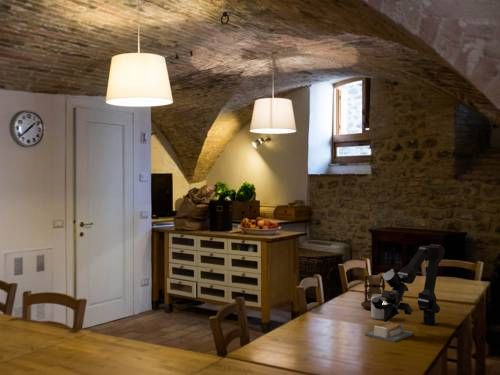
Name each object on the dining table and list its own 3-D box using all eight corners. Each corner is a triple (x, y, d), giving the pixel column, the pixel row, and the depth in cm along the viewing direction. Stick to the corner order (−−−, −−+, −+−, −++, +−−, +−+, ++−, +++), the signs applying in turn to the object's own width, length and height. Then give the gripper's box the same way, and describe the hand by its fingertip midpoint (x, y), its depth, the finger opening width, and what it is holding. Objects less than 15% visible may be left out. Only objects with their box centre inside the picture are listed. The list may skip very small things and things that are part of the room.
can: (386, 320, 276) (386, 296, 276) (371, 319, 278) (371, 296, 278) (385, 316, 284) (385, 293, 283) (371, 315, 285) (370, 293, 285)
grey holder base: (384, 328, 262) (384, 317, 262) (413, 334, 251) (413, 323, 251) (365, 335, 250) (365, 324, 250) (394, 342, 239) (394, 331, 239)
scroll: (387, 305, 308) (387, 270, 308) (389, 312, 293) (389, 275, 293) (360, 304, 310) (360, 270, 310) (361, 311, 296) (361, 274, 296)
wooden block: (390, 322, 256) (377, 328, 248) (399, 324, 252) (387, 330, 244) (390, 325, 256) (377, 330, 248) (399, 327, 252) (387, 332, 244)
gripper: (373, 280, 257) (360, 308, 250) (408, 285, 244) (396, 315, 237) (382, 294, 263) (369, 321, 256) (417, 300, 250) (405, 329, 242)
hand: (384, 321), depth 247 cm, fingers closed
